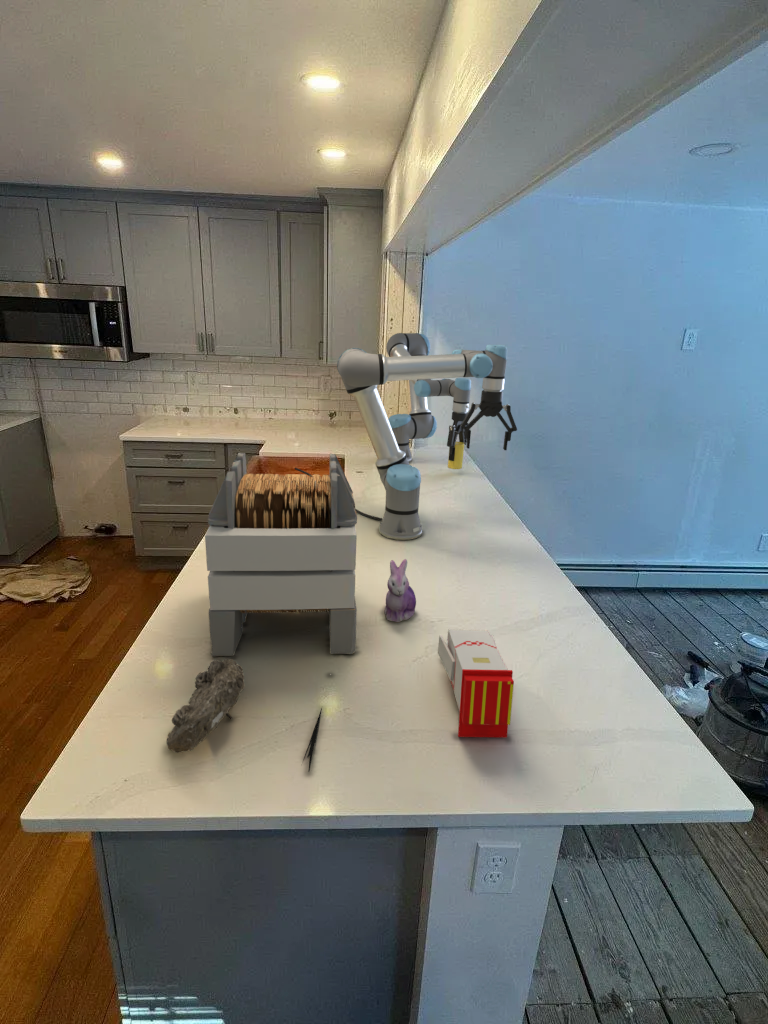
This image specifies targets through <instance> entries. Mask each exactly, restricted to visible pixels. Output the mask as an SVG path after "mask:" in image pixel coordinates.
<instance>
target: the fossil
mask: <svg viewBox="0 0 768 1024" xmlns="http://www.w3.org/2000/svg"><path fill="white" fill-rule="evenodd" d="M243 670H244V669H243V667H242V665H240V664H237V662H236V661H235V660H234V659H232V658H231V659H227V658H226V659H224V660H223V661H222V660H217V659H212V660H211V661H210V663H209V665H208V666H207V671H201V672H199V673H198V674H197V675H196V676H195V680H194V684H195V685H194V687H195V689H194V690H193V693H192V694H191V697H190V698H189V700H188V704H184V705H182V706H181V707H180V709H177V710H176V711H175V713H174V715H173V716H172V718H171V723H172V724H173V727H172V730H171V731H170V732H168V734H167V738H166V741H167V742H166V745H167V749H168V750H169V751H173V752H174V753H176V754H178V753H182V752H188V751H189V752H192V751H193V750H195V748H196V747H197V746H199V744H200V743H201V742H203V741H204V740H205V739H206V738H207V737H208V736H209V735H210V734H211V733H212V732H214V730H215V729H217V727H218V726H219V724H220V722H221V721H222V720H223V719H224V718H225V716H226V717H227V719H229V720H233V717H232V715H230V714H229V710H230V709H231V708H234V706H235V704H236V703H237V702H238V699H239V697H240V695H241V693H242V691H243V690H245V689H244V688H245V675H244V671H243Z"/></svg>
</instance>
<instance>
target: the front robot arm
mask: <svg viewBox="0 0 768 1024" xmlns="http://www.w3.org/2000/svg"><path fill="white" fill-rule="evenodd" d="M507 362H508V347H507V346H506V345H502V344H487V345H486V347H485V349H484V350H476V349H475V350H473V349H454V350H453V351H452V353H451V354H428V355H423V356H400V357H389V356H385V355H384V354H383V353H369V352H367V351H366V350H364V349H362V348H359V347H352V348H348V349H346V350H344V351H343V352H342V353H341V354H340V356H339V357H338V360H337V364H336V368H337V372H338V374H339V376H340V378H341V380H342V383H343V386H344V388H345V390H346V393H347V395H349V396H352V397H353V399H354V403H355V404H356V407H357V409H358V412H359V414H360V416H361V417H360V418H361V420H362V422H363V425H364V427H365V430H366V433H367V435H368V438H369V440H370V443H371V445H372V448H373V451H374V453H375V456H376V461H375V467H376V469H377V472H378V474H379V478H380V481H381V483H382V485H383V487H384V489H385V504H384V505H385V507H384V508H385V509H384V513H383V515H382V517H378V516H375V515H370V514H369V513H368V514H367V513H365V512H362V511H360V510H359V509H357V508H356V514H359V515H361V516H364V517H366V518H369V519H373V520H377V521H379V526H378V533H379V534H380V535H381V536H382V537H385V538H387V539H389V540H395V541H410V540H415V539H418V538H420V537H421V536H422V535H423V525H422V524H421V518H420V515H419V507H420V506H419V505H420V491H421V483H422V477H421V476H422V475H421V471H420V470H419V468H417V467H416V466H413V465H412V464H411V465H410V462H408V459H407V456H406V454H405V452H403V451H401V450H399V447H398V444H397V441H396V439H395V436H394V433H393V431H392V428H391V425H390V423H389V420H388V419H389V417H388V414H387V412H386V410H385V407H384V404H383V401H382V399H381V395H380V393H379V390H378V386H381V385H382V386H383V385H385V384H386V383H387V382H396V381H397V382H398V381H399V382H400V381H409V380H420V379H431V380H440V379H454V378H455V379H456V378H476V379H482V386H481V388H482V390H481V394H480V396H481V397H480V401H479V403H475V402H472V403H471V405H470V409H468V412H467V413H468V414H467V415H466V417H465V419H464V420H463V422H462V424H461V425H460V426H461V428H462V429H465V439H467V443H466V449H467V450H468V449H470V445H471V435H472V430H471V428H473V426H474V425H475V424H477V422H479V420H480V419H481V418H483V417H487V418H488V417H491V418H495V417H497V418H498V420H499V421H500V422H501V424H502V425H503V426H504V428H505V429H506V431H504V437H503V447H502V449H503V451H507V450H508V442H511V440H512V433H514V432H517V431H518V428H517V425H516V422H515V420H514V417H513V414H512V409H511V405H510V404H508V403H507V404H503V397H504V392H503V391H504V389H505V380H506V379H505V378H506V371H507V370H506V369H507ZM478 408H479V410H480V411H479V412H478V413H477V415H475V417H473V418H472V419H471V417H472V416H473V414H474V413H475V411H476V410H478ZM502 410H503V411H505V413H506V415H507V417H508V420H509V423H510V425H511V427H510V426H509V424H508V422H507V421H506V420H505V419H504V417H503V416H502V414H501V411H502ZM470 419H471V420H470ZM469 421H470V422H469ZM467 423H468V425H467V426H466V424H467ZM294 470H295V471H297V472H300V473H301V474H306V475H307V476H308V477H309V476H310V477H313V474H311V473H309V472H307V471H305V470H302V469H300V468H298V467H295V468H294Z"/></svg>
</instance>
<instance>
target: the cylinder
mask: <svg viewBox="0 0 768 1024" xmlns="http://www.w3.org/2000/svg"><path fill="white" fill-rule="evenodd" d="M454 447H455V456H454V461H450V460H448V459H449V456H448V458H447V468H448V469H451V470H461V469H463V464H464V463H463V462H464V452H465V445H464V443H463V442H459V441H457V440H456V443H455V446H454Z"/></svg>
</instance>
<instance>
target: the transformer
mask: <svg viewBox="0 0 768 1024" xmlns="http://www.w3.org/2000/svg"><path fill="white" fill-rule="evenodd" d="M328 469H329V471H328V472H329V474H322V475H321V474H316V473H315V474H312V475H313V477H310V476H308V475H306V474H304V473H297V474H295V473H285V475H284V474H278V473H275V474H273V473H255V474H254V473H248V472H247V458H246V452H237V454H236V457H235V459H234V460H233V462H232V464H231V466H230V468H229V471H227V473H226V474H225V477H224V479H223V481H222V484H221V485H220V488H219V491H218V492H217V495H216V497H215V499H214V501H213V504H212V506H211V508H210V510H209V512H208V515H207V524H208V528H207V530H206V532H205V534H204V543H205V545H204V546H205V559H206V571H207V572H208V575H207V587H208V602H209V609H208V625H209V636H210V637H209V638H210V647H211V652H210V656H211V657H215V658H216V657H217V658H218V657H219V656H221V657H222V656H224V657H225V656H227V657H234V655H235V652H236V650H237V648H238V645H239V643H240V641H241V638H242V635H243V632H244V631H243V629H244V626H243V624H245V623H246V620H247V615H248V614H267V613H269V614H270V613H271V614H274V613H283V614H285V613H318V612H320V613H321V612H322V613H323V612H326V613H328V623H329V627H328V628H329V631H328V633H329V654H330V655H331V654H333V655H334V654H335V655H337V654H339V655H340V654H342V655H343V654H345V655H353V654H354V653H355V652H356V647H357V646H356V644H357V641H356V640H357V611H358V610H357V602H356V566H357V565H356V563H357V562H356V561H357V530H356V525H357V523H358V515H357V514H358V513H357V512H356V509H357V508H356V503H355V498H354V492H353V489H352V487H351V485H350V483H349V481H348V479H347V476H346V474H345V471H344V470H343V468H342V466H341V464H340V461H339V459H338V457H337V454H336V453H331V452H330V453H329V468H328Z"/></svg>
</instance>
